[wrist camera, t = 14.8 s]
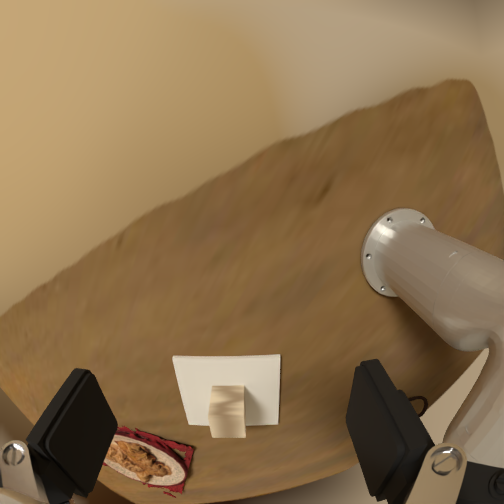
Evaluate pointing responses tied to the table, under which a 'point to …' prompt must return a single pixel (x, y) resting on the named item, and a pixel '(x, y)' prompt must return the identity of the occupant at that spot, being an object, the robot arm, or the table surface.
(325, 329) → the table surface
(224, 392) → the birch block
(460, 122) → the table surface
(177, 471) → the plate with food
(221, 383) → the white mat
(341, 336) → the table surface
